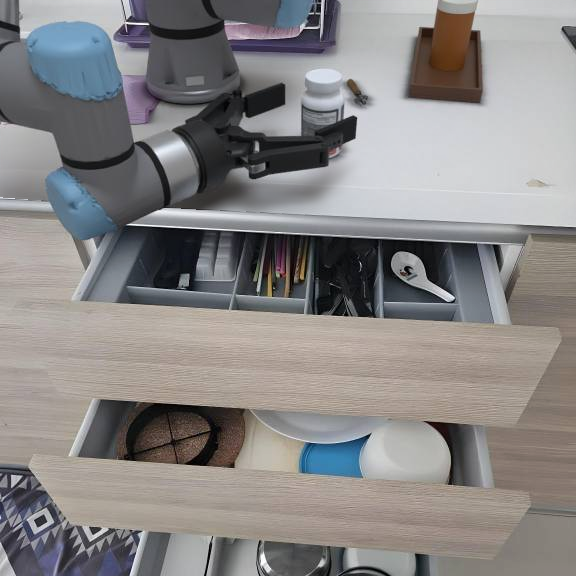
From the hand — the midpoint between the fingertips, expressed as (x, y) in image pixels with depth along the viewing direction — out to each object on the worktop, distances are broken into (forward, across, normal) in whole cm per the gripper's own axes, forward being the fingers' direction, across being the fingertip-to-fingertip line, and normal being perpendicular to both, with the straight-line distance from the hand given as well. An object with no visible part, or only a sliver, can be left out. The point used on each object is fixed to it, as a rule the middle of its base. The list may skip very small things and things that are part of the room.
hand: (317, 109), depth 76 cm
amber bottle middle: (+38, -7, -5) cm, 39 cm away
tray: (+38, -7, -6) cm, 39 cm away
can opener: (+18, -10, -6) cm, 22 cm away
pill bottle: (+1, 0, -6) cm, 6 cm away
